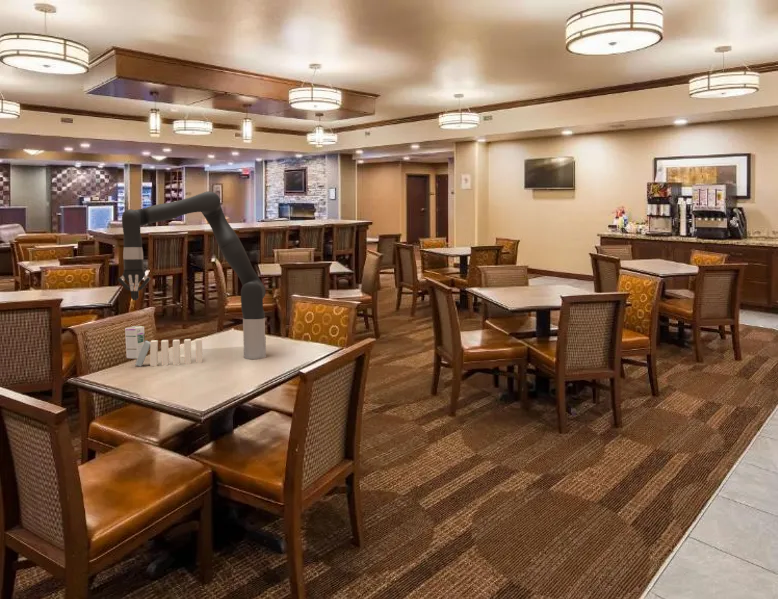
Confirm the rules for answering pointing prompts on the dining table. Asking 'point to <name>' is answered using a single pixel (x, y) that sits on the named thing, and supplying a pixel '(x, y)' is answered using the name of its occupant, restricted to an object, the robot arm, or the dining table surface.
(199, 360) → the domino
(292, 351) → the dining table surface
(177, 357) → the domino
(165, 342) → the domino
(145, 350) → the domino
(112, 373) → the dining table surface
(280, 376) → the dining table surface
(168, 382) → the dining table surface
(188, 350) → the domino
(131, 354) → the syrup box
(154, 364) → the domino
